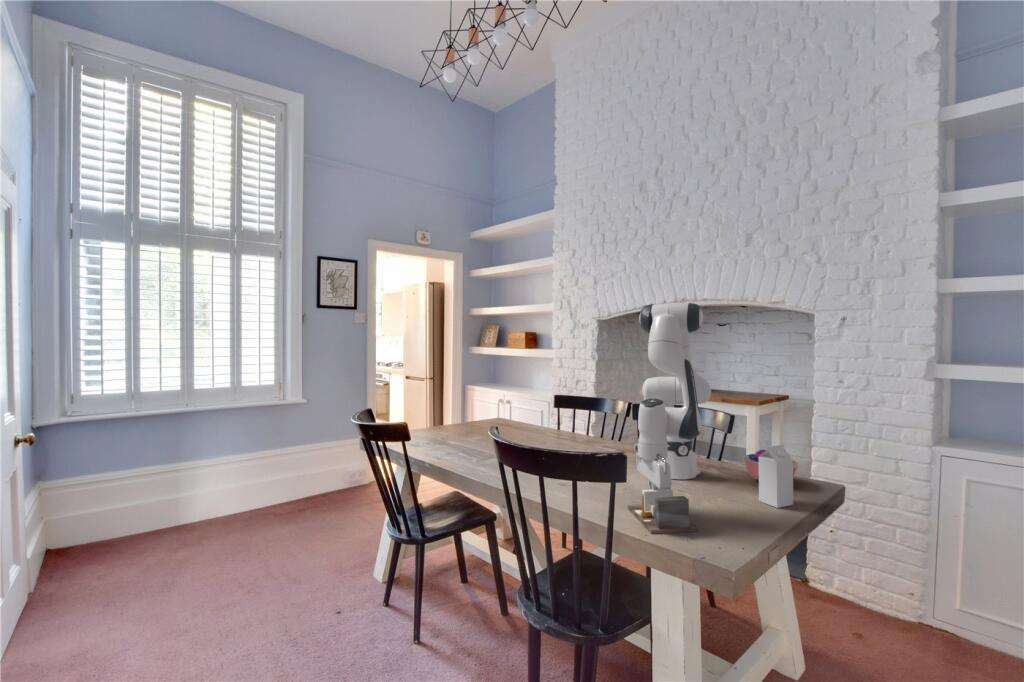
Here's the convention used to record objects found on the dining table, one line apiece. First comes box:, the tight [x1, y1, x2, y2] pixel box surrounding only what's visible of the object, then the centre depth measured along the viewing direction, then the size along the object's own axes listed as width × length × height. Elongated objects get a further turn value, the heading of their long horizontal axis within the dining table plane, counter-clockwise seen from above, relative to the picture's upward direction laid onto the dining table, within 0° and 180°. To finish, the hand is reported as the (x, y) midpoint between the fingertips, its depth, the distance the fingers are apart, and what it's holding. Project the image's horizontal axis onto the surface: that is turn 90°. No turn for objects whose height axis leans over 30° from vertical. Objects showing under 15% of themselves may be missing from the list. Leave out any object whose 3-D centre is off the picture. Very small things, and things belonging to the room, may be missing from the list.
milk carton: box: [758, 444, 794, 509], centre depth 158 cm, size 7×7×19 cm
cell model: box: [741, 449, 799, 481], centre depth 180 cm, size 17×20×11 cm
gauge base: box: [627, 495, 699, 534], centre depth 147 cm, size 20×14×9 cm
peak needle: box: [641, 493, 651, 516], centre depth 146 cm, size 1×3×6 cm, turn 96°
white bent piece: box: [641, 488, 674, 517], centre depth 146 cm, size 8×9×7 cm
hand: (653, 494), depth 152 cm, fingers closed
